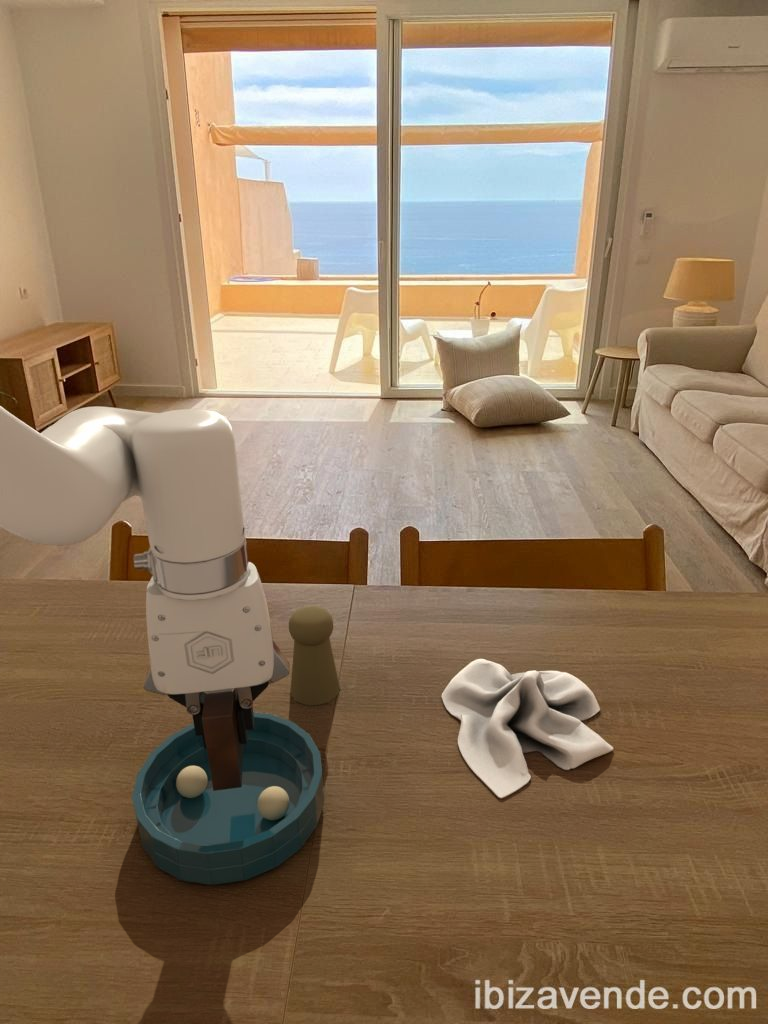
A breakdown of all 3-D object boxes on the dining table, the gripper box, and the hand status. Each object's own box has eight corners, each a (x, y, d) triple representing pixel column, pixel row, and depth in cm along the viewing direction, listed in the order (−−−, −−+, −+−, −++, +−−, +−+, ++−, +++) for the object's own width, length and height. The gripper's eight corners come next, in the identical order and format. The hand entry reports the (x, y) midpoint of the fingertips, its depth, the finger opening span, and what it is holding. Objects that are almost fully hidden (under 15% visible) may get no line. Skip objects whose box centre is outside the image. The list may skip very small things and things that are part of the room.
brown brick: (213, 791, 62) (201, 718, 59) (219, 729, 69) (209, 661, 66) (241, 787, 62) (231, 715, 59) (244, 726, 69) (235, 659, 66)
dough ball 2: (258, 829, 65) (256, 805, 64) (259, 804, 68) (256, 781, 67) (290, 825, 66) (288, 801, 64) (290, 800, 68) (288, 777, 67)
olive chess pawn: (281, 698, 83) (274, 621, 79) (303, 669, 88) (298, 595, 84) (327, 710, 81) (323, 631, 77) (347, 679, 86) (344, 603, 82)
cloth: (441, 661, 90) (442, 620, 87) (588, 666, 88) (593, 626, 86) (440, 795, 69) (442, 748, 67) (630, 806, 68) (639, 758, 65)
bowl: (124, 902, 59) (115, 865, 57) (155, 754, 75) (148, 721, 73) (330, 873, 62) (328, 837, 60) (317, 735, 77) (315, 703, 76)
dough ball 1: (176, 806, 68) (172, 783, 67) (180, 783, 70) (176, 760, 69) (207, 802, 68) (204, 779, 67) (210, 779, 71) (206, 757, 70)
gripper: (88, 594, 53) (129, 777, 60) (302, 575, 55) (315, 754, 62) (109, 549, 59) (143, 719, 67) (298, 534, 61) (311, 700, 69)
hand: (226, 734), depth 65 cm, fingers closed on brown brick, 2 cm apart
